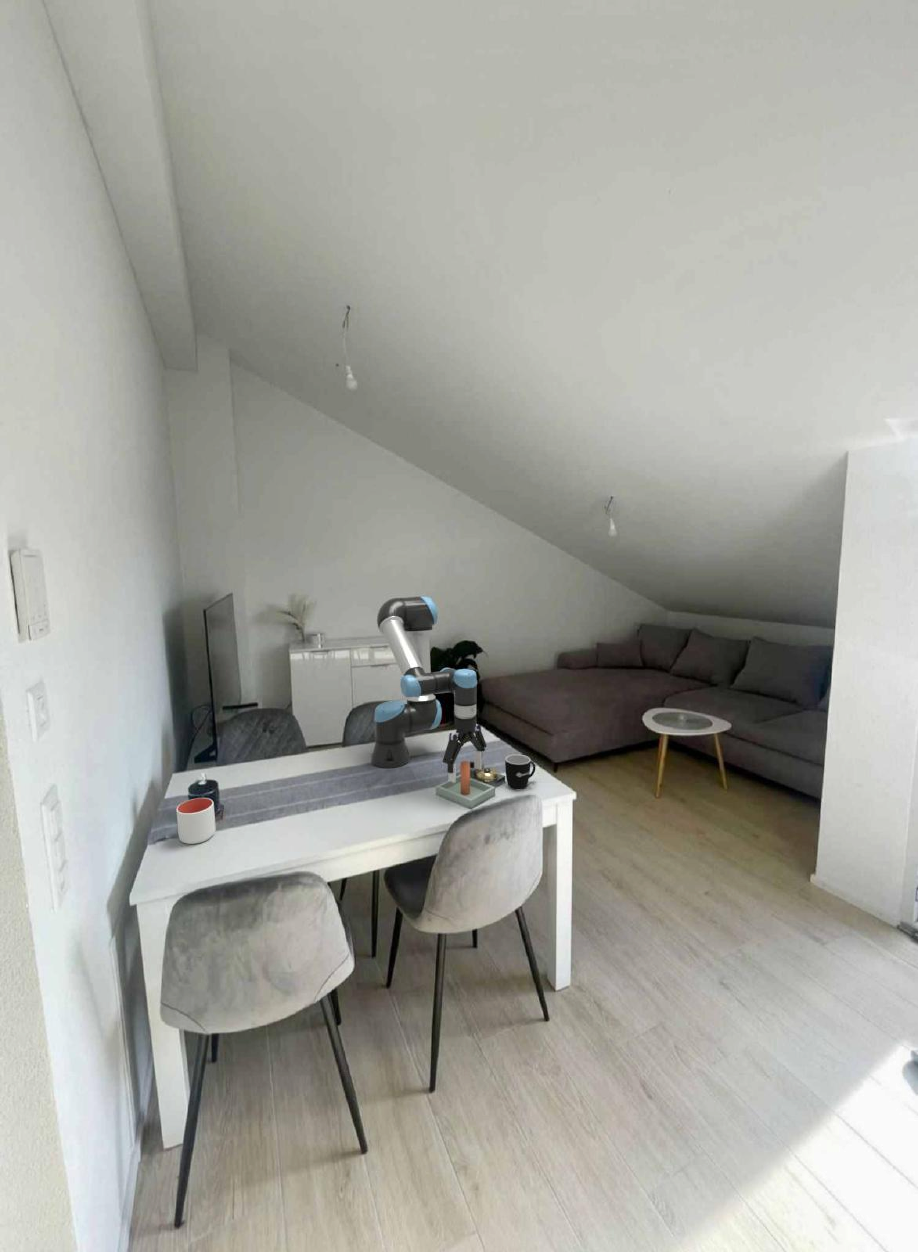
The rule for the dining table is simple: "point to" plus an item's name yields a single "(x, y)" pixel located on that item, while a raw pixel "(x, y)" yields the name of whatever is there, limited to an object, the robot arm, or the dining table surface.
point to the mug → (518, 771)
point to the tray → (476, 797)
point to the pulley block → (485, 775)
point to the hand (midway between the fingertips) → (465, 774)
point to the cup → (196, 820)
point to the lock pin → (465, 777)
